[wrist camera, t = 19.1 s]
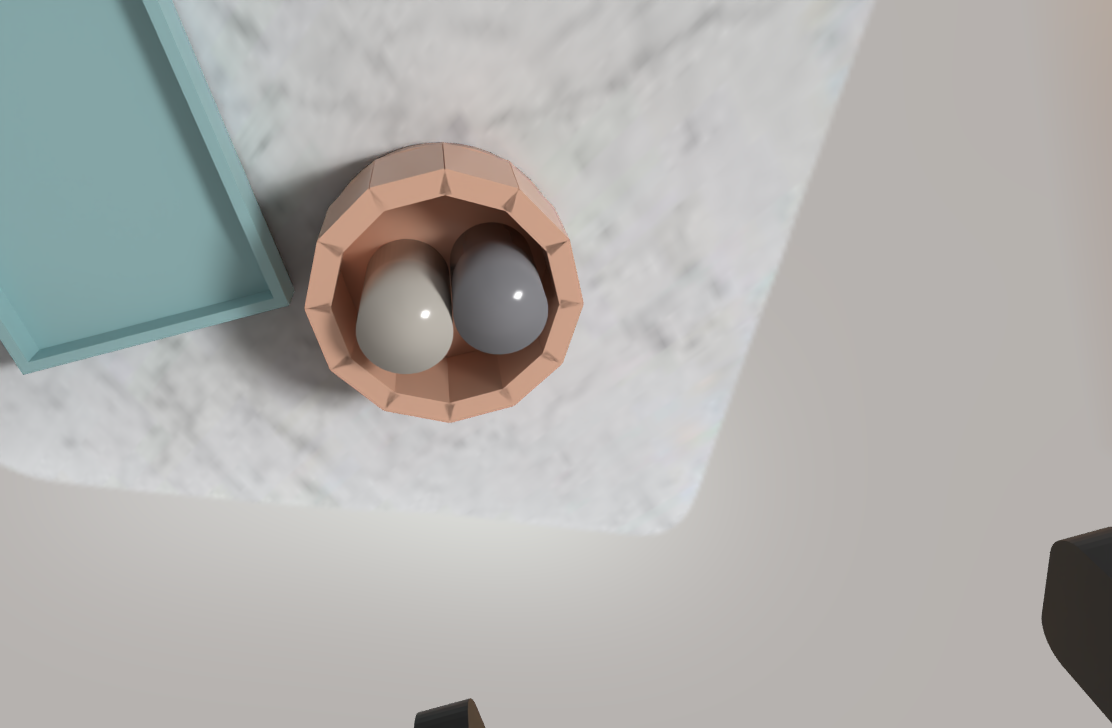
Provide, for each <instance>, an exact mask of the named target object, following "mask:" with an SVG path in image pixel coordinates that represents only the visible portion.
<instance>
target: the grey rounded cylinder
mask: <svg viewBox="0 0 1112 728" xmlns="http://www.w3.org/2000/svg"><path fill="white" fill-rule="evenodd" d="M450 276H451V291H452V305H453V318H454V323H455V326H456V328H457V331H458V332H459V334H460V336H461V337H462V338H463V339H464V340H465V341H466V342H467V343H468V344H469V345H471V346H472V347H474V348H475V349H477V350H480V351H482V352H485V353H489V354H509V353H513V352H516V351H519V350H521V349H523V348H525V347H527V346H528V345H530V344H531V343H532V342H533V341H534V340H535V339H536V338H537V337H538V336H539V335H540V333H541V332H542V330H543V329H544V326H545V324H546V321H547V317H548V303H547V299H546V296H545V292H544V289H543V286H542V283H541V280H540V277H539V274H538V271H537V268H536V265H535V261H534V258H533V255H532V252H531V249H530V246H529V244H528V242H527V241H526V239H525V238H524V237H523V235H522V234H521V233H519V232H518V231H517V230H516V229H514V228H512V227H510V226H508V225H505V224H502V223H497V222H487V223H481V224H478V225H475V226H473V227H471V228H469V229H468V230H466V231H465V232H464V233H462V234H461V235H460V236H459V238H458V239H457V240H456V242H455V243H454V245H453V247H452V250H451V254H450Z"/></svg>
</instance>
